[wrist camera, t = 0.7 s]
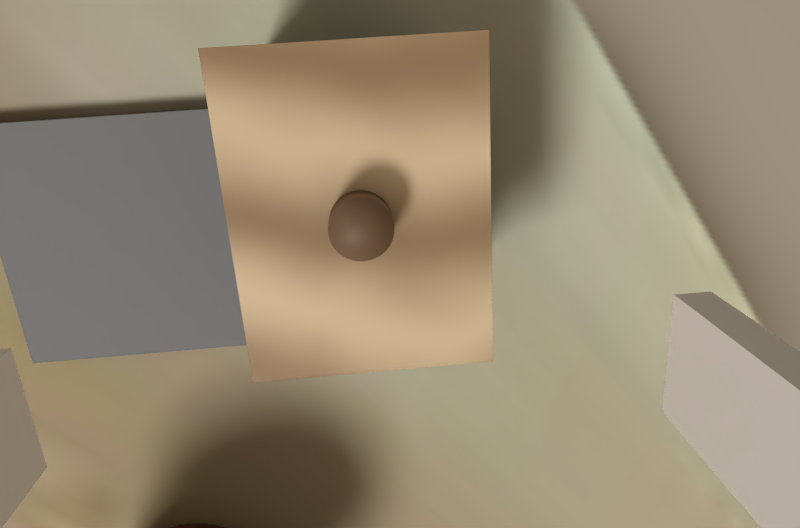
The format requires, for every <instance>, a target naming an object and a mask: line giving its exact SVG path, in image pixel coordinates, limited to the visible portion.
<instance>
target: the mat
mask: <svg viewBox="0 0 800 528" xmlns="http://www.w3.org/2000/svg"><path fill="white" fill-rule="evenodd" d="M0 256H1V259H2V262H3V266H4V269H5V272H6V276H7V279H8V282H9V286H10V289H11V292H12V295H13V299H14V302H15V305H16V309H17V312H18V315H19V319H20V322H21V325H22V329H23V332H24V335H25V339H26V342H27V345H28V349H29V352H30V355H31V358H32V362H33V363H42V362H53V361H65V360H76V359H88V358H99V357H111V356H123V355H134V354H146V353H157V352H169V351H181V350H192V349H204V348H215V347H227V346H238V345H247V343H246V337H245V331H244V325H243V319H242V313H241V306H240V300H239V294H238V288H237V282H236V276H235V270H234V264H233V258H232V252H231V246H230V239H229V233H228V227H227V221H226V215H225V209H224V203H223V197H222V191H221V185H220V179H219V173H218V166H217V160H216V154H215V148H214V142H213V136H212V130H211V124H210V118H209V112H208V108H202V109H187V110H173V111H158V112H144V113H129V114H115V115H100V116H86V117H71V118H57V119H42V120H28V121H13V122H0Z"/></svg>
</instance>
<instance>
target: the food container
mask: <svg viewBox="0 0 800 528" xmlns="http://www.w3.org/2000/svg"><path fill="white" fill-rule="evenodd" d="M170 528H225V527H221V526H217V525H210V524H185V525H178V526H174V527H170Z"/></svg>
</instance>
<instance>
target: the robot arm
mask: <svg viewBox="0 0 800 528" xmlns="http://www.w3.org/2000/svg"><path fill="white" fill-rule="evenodd" d="M662 412H663V413H664V414H665V415H666V416H667V418H668V419H669V420H670V421H671V422H672V423H673V425H674V426H675V427H676V428H677V429H678V430H679V432H680V433H681V434H682V435H683V436H684V438H685V439H686V440H687V441H688V442H689V443H690V445H691V446H692V447H693V448H694V449H695V450H696V452H697V453H698V454H699V455H700V456H701V457H702V459H703V460H704V461H705V462H706V463H707V465H708V466H709V467H710V468H711V469H712V470H713V472H714V473H715V474H716V475H717V476H718V477H719V479H720V480H721V481H722V482H723V483H724V484H725V486H726V487H727V488H728V489H729V490H730V492H731V493H732V494H733V495H734V496H735V497H736V499H737V500H738V501H739V502H740V503H741V504H742V506H743V507H744V508H745V509H746V510H747V511H748V513H749V514H750V515H751V516H752V517H753V519H754V520H755V521H756V522H757V523H758V524H759V526H760V527H761V528H800V352H799V351H798V350H796V349H795V348H793V347H792V346H790V345H789V344H788V343H786V342H785V341H783V340H782V339H780V338H779V337H777V336H776V335H774V334H773V333H771V332H770V331H768V330H767V329H765V328H764V327H762V326H761V325H759V324H758V323H756V322H755V321H754V320H752V319H751V318H749V317H748V316H746V315H745V314H743V313H742V312H740V311H739V310H737V309H736V308H734V307H733V306H731V305H730V304H728V303H727V302H725V301H724V300H722V299H721V298H719V297H718V296H717V295H715V294H714V293H712V292H701V293H689V294H677V295H674V302H673V312H672V322H671V331H670V341H669V351H668V361H667V370H666V380H665V390H664V400H663V410H662ZM46 468H47V465H46V462H45V458H44V455H43V452H42V449H41V445H40V442H39V439H38V435H37V432H36V429H35V426H34V422H33V419H32V416H31V412H30V409H29V406H28V403H27V399H26V396H25V393H24V389H23V386H22V383H21V380H20V376H19V373H18V370H17V366H16V363H15V360H14V357H13V353H12V350H11V348H10V349H0V528H2V527H3V525H4V524H5V523H6V521H7V520H8V519H9V517H10V516H11V515H12V513H13V512H14V511H15V509H16V508H17V506H18V505H19V504H20V502H21V501H22V500H23V498H24V497H25V496H26V494H27V493H28V492H29V490H30V489H31V488H32V486H33V485H34V484H35V482H36V481H37V480H38V478H39V477H40V476H41V474H42V473H43V472H44V470H45V469H46Z"/></svg>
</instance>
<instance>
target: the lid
mask: <svg viewBox="0 0 800 528" xmlns="http://www.w3.org/2000/svg"><path fill="white" fill-rule="evenodd" d="M198 51H199V57H200V63H201V69H202V75H203V81H204V87H205V93H206V100H207V106H208V112H209V118H210V124H211V130H212V136H213V142H214V148H215V154H216V160H217V166H218V173H219V179H220V185H221V191H222V197H223V203H224V209H225V215H226V221H227V227H228V233H229V239H230V246H231V252H232V258H233V264H234V270H235V276H236V282H237V288H238V294H239V300H240V306H241V313H242V319H243V325H244V331H245V337H246V343H247V349H248V355H249V361H250V367H251V373H252V379H253V382H264V381H275V380H286V379H298V378H309V377H320V376H331V375H342V374H354V373H365V372H376V371H387V370H399V369H410V368H421V367H432V366H443V365H455V364H466V363H477V362H488V361H493V334H492V240H491V145H490V51H489V30H476V31H461V32H445V33H430V34H414V35H399V36H383V37H368V38H352V39H337V40H321V41H306V42H290V43H275V44H259V45H244V46H228V47H213V48H198Z"/></svg>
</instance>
